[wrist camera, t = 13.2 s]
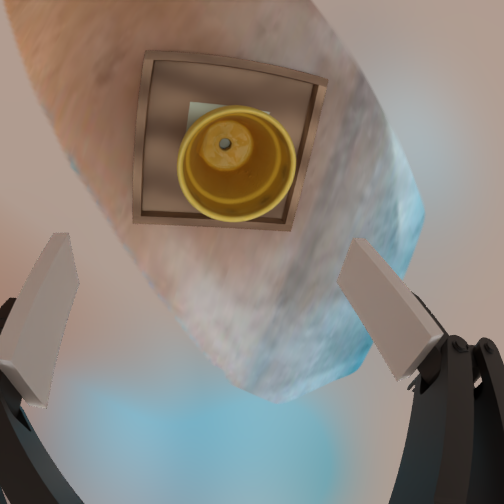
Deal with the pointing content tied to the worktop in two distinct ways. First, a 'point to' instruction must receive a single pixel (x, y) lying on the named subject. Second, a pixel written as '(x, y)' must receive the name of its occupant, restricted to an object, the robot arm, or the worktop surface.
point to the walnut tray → (199, 103)
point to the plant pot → (236, 163)
